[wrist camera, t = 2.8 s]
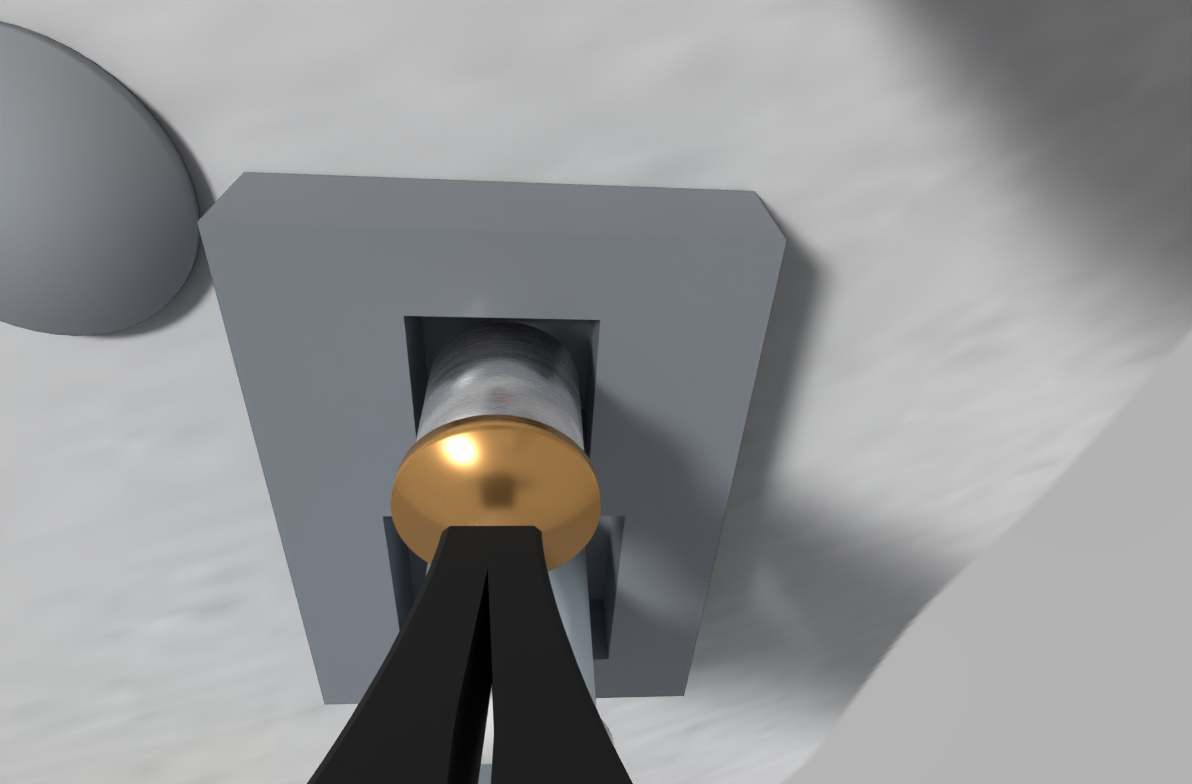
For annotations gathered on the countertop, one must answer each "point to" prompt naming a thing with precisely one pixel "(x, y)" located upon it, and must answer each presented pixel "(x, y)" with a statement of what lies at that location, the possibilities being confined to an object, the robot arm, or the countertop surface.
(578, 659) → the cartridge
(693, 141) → the countertop surface
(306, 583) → the grey flat block
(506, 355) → the plunger
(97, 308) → the pad
